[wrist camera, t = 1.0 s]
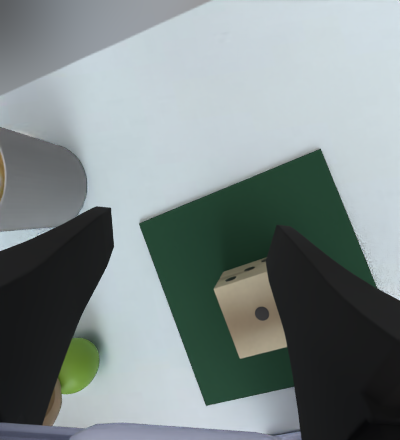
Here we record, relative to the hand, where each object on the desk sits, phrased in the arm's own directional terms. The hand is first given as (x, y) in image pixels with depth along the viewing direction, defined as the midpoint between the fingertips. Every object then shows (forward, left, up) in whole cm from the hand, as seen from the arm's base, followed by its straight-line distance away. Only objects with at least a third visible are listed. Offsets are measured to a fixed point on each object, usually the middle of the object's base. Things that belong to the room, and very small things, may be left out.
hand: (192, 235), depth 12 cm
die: (-8, 0, -16) cm, 17 cm away
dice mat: (-7, 0, -16) cm, 18 cm away
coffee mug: (+12, +21, -16) cm, 29 cm away
